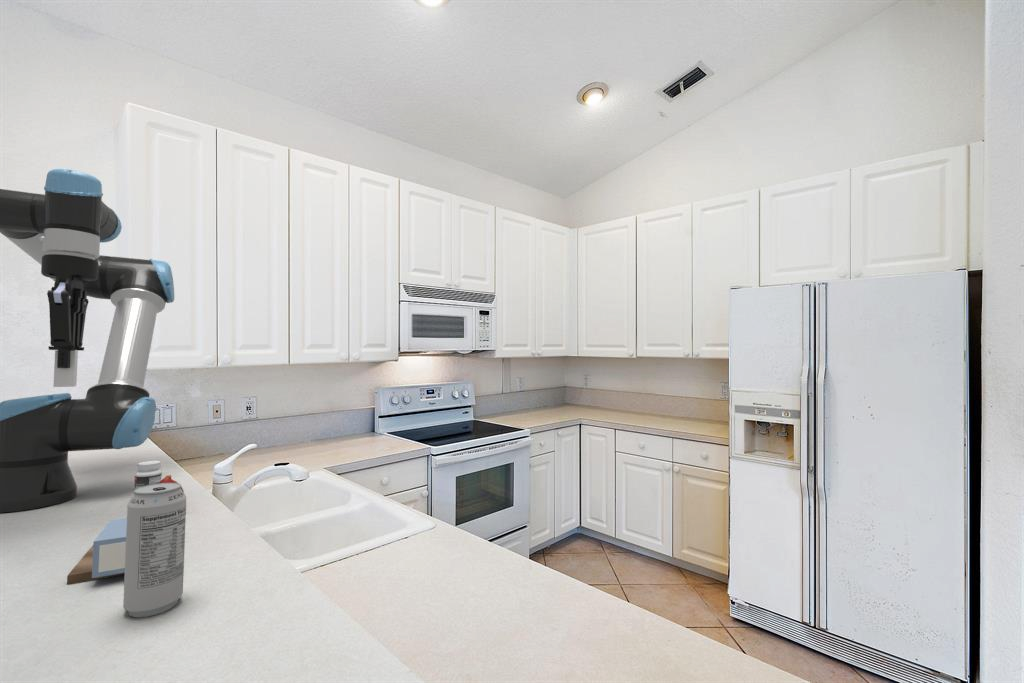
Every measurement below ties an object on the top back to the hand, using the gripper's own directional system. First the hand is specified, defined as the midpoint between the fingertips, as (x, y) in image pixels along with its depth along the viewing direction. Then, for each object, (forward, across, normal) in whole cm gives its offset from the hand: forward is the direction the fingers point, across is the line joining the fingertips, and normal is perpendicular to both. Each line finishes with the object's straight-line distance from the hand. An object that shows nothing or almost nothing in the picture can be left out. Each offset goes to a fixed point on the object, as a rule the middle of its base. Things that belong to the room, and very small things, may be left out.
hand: (65, 386), depth 84 cm
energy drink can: (+27, +38, +19) cm, 50 cm away
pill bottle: (+27, -18, +10) cm, 34 cm away
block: (+23, +18, +13) cm, 32 cm away
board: (+26, +18, +13) cm, 35 cm away
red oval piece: (+27, -4, +15) cm, 31 cm away
